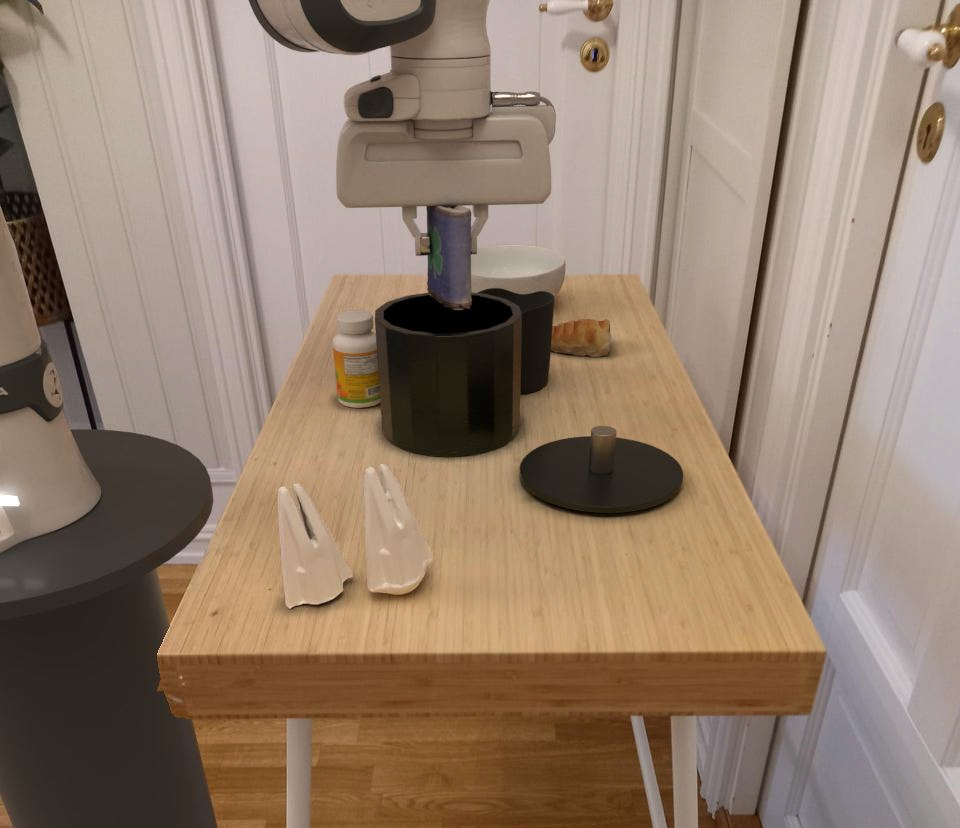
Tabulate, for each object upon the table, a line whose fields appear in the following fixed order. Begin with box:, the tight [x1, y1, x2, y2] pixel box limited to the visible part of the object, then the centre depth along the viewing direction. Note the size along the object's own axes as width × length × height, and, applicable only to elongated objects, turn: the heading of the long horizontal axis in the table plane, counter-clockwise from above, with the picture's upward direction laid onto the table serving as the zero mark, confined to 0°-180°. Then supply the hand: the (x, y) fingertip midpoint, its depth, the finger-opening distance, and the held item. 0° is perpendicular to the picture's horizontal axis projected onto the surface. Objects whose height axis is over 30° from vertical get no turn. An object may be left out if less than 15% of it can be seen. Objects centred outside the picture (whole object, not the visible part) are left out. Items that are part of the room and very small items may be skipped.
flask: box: [425, 205, 472, 310], centre depth 94 cm, size 9×3×11 cm, turn 19°
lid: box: [519, 425, 684, 514], centre depth 93 cm, size 16×16×5 cm
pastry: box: [551, 318, 613, 358], centre depth 125 cm, size 9×7×4 cm
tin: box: [374, 292, 522, 458], centre depth 102 cm, size 15×15×12 cm
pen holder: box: [477, 288, 555, 395], centre depth 113 cm, size 9×9×10 cm
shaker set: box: [277, 463, 434, 609], centre depth 75 cm, size 12×4×11 cm, turn 95°
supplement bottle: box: [332, 310, 381, 409], centre depth 109 cm, size 5×5×10 cm
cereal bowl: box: [471, 244, 566, 298], centre depth 138 cm, size 17×17×7 cm
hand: (445, 253), depth 95 cm, fingers closed on flask, 3 cm apart
